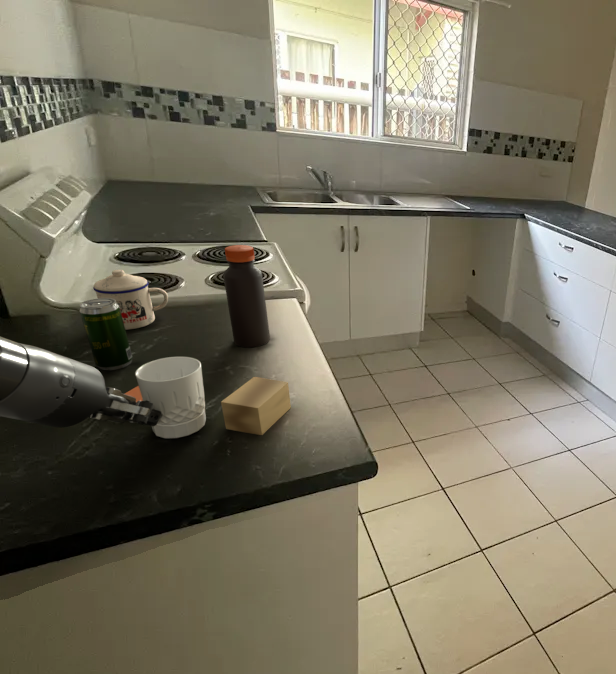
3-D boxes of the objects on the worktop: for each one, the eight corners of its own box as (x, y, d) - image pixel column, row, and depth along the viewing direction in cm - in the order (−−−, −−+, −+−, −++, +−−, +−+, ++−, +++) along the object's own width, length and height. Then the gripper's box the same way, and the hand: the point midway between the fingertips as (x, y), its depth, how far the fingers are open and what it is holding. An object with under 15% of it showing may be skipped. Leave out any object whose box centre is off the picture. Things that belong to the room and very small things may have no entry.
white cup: (135, 433, 70) (120, 373, 66) (182, 407, 77) (171, 352, 73) (178, 446, 68) (166, 386, 64) (222, 419, 75) (213, 363, 71)
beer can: (134, 355, 90) (118, 296, 85) (133, 367, 86) (116, 306, 81) (97, 360, 87) (79, 299, 82) (94, 373, 83) (75, 310, 78)
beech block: (225, 429, 73) (220, 401, 71) (257, 402, 80) (254, 376, 78) (262, 435, 73) (257, 408, 70) (291, 407, 80) (288, 382, 78)
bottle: (267, 332, 104) (255, 242, 96) (273, 344, 99) (261, 251, 91) (232, 337, 101) (217, 244, 92) (236, 350, 96) (221, 253, 87)
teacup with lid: (101, 333, 97) (85, 279, 92) (106, 317, 103) (92, 265, 99) (172, 326, 103) (160, 274, 98) (172, 310, 110) (162, 262, 105)
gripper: (-37, 409, 50) (100, 436, 67) (73, 430, 49) (186, 453, 65) (2, 344, 53) (125, 385, 69) (107, 362, 52) (207, 400, 68)
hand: (154, 418), depth 67 cm, fingers closed
